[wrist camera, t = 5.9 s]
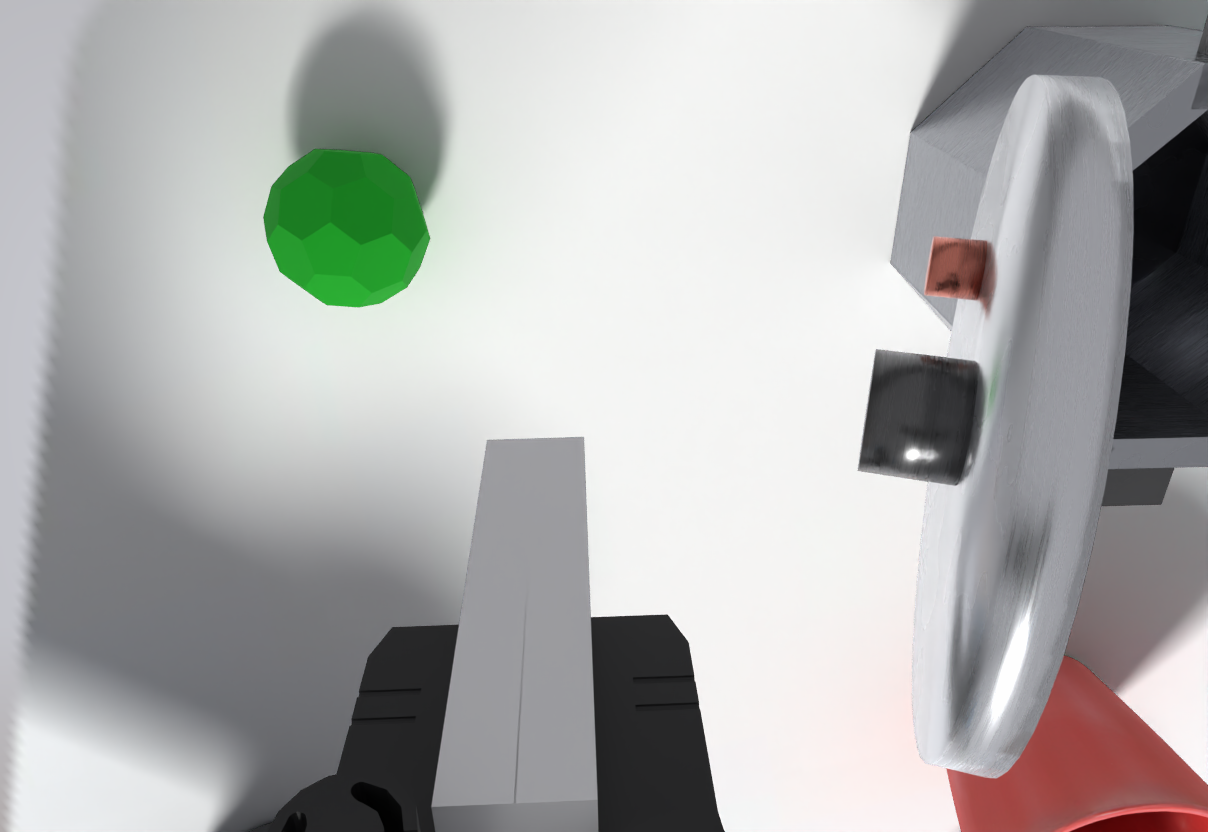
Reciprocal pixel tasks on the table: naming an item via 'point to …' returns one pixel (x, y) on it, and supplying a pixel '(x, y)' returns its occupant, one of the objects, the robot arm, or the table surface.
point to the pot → (1160, 212)
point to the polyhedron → (346, 227)
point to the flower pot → (1086, 772)
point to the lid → (1013, 420)
